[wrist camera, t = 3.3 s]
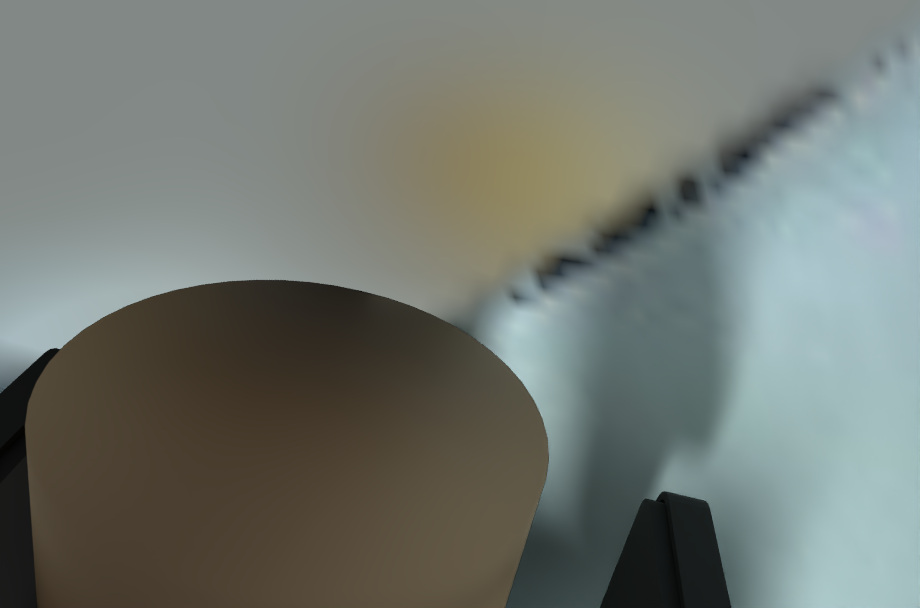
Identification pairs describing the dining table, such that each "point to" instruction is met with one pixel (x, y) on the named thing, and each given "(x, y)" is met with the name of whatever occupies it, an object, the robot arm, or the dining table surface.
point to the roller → (279, 456)
